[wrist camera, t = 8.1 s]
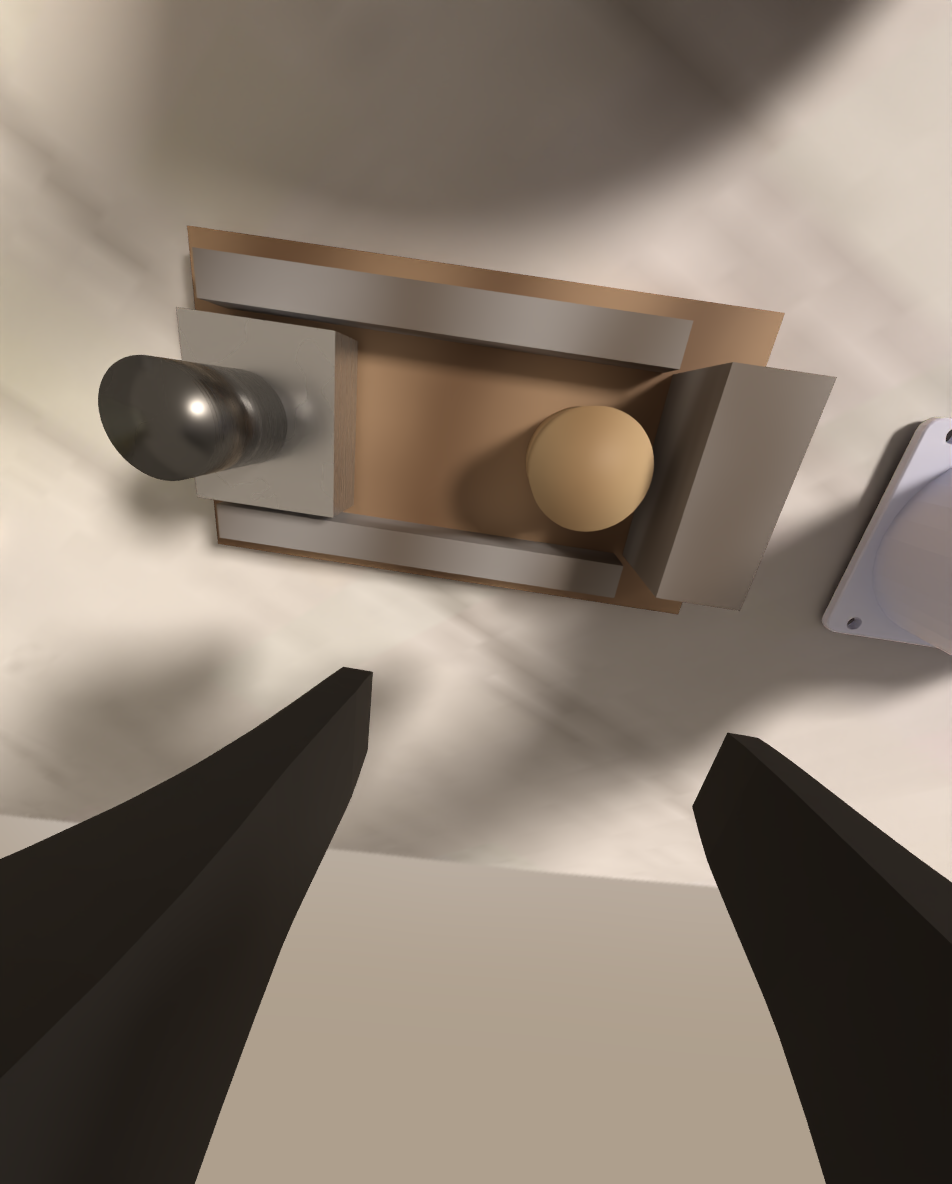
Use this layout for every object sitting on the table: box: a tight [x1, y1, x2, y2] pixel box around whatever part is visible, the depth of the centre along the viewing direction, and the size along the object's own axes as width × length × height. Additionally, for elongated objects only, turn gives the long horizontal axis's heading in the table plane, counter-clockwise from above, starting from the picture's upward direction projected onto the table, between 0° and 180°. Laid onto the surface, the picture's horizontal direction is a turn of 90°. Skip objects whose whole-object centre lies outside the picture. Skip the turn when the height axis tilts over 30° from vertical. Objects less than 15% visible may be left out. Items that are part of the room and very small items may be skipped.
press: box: [187, 226, 837, 614], centre depth 14 cm, size 18×10×5 cm, turn 82°
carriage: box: [98, 307, 358, 518], centre depth 12 cm, size 4×5×6 cm
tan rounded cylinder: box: [526, 406, 654, 532], centre depth 14 cm, size 3×3×3 cm
